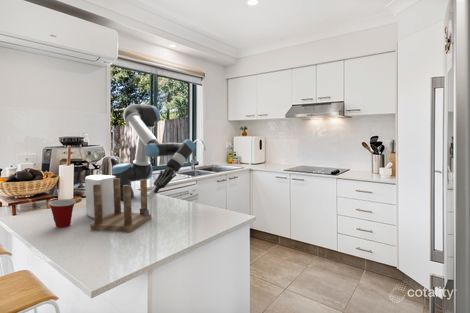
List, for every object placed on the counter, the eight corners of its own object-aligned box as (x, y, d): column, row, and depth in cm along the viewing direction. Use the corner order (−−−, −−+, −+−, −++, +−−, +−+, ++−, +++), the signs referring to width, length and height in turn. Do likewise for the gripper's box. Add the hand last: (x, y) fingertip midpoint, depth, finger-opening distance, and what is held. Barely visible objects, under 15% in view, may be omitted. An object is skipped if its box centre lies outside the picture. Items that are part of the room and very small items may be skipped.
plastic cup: (67, 230, 122) (66, 204, 121) (44, 229, 123) (42, 204, 122) (81, 222, 133) (80, 198, 132) (60, 222, 133) (59, 198, 132)
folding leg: (145, 209, 139) (144, 179, 138) (148, 210, 137) (147, 179, 135) (139, 210, 137) (139, 179, 135) (142, 211, 135) (141, 180, 133)
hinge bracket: (144, 213, 140) (144, 207, 139) (149, 215, 136) (148, 209, 136) (139, 214, 138) (139, 208, 138) (144, 216, 134) (144, 210, 134)
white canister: (100, 220, 137) (98, 177, 135) (76, 218, 139) (74, 176, 137) (118, 211, 151) (117, 173, 149) (96, 210, 154) (94, 172, 152)
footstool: (151, 218, 139) (150, 179, 137) (130, 232, 120) (128, 186, 118) (116, 216, 143) (114, 177, 141) (90, 229, 123) (88, 185, 121)
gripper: (187, 167, 146) (161, 203, 135) (173, 166, 155) (148, 199, 144) (178, 158, 142) (151, 195, 131) (165, 157, 151) (138, 191, 140)
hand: (149, 197), depth 138 cm, fingers closed
